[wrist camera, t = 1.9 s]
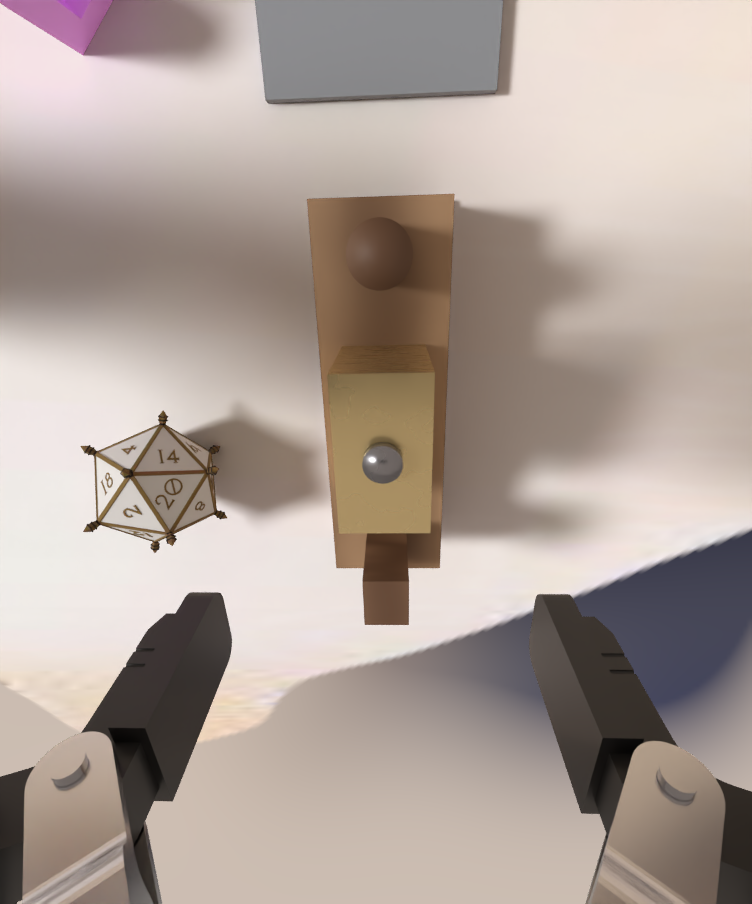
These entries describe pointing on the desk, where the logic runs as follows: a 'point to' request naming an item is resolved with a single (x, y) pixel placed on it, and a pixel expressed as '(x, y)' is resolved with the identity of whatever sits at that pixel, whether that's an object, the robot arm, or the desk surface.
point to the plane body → (385, 323)
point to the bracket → (63, 18)
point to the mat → (378, 48)
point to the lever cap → (382, 437)
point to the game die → (154, 484)
